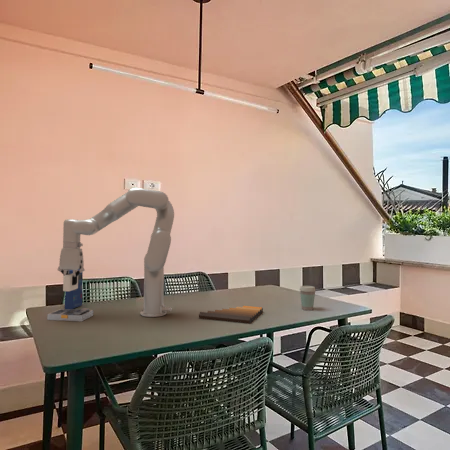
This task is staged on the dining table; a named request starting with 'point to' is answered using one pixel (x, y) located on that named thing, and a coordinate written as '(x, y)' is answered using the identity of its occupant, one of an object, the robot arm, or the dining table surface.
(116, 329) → the dining table surface
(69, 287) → the block
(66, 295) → the electronic device
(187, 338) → the dining table surface
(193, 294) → the dining table surface
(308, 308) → the coffee cup
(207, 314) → the pan flute
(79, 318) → the rack
